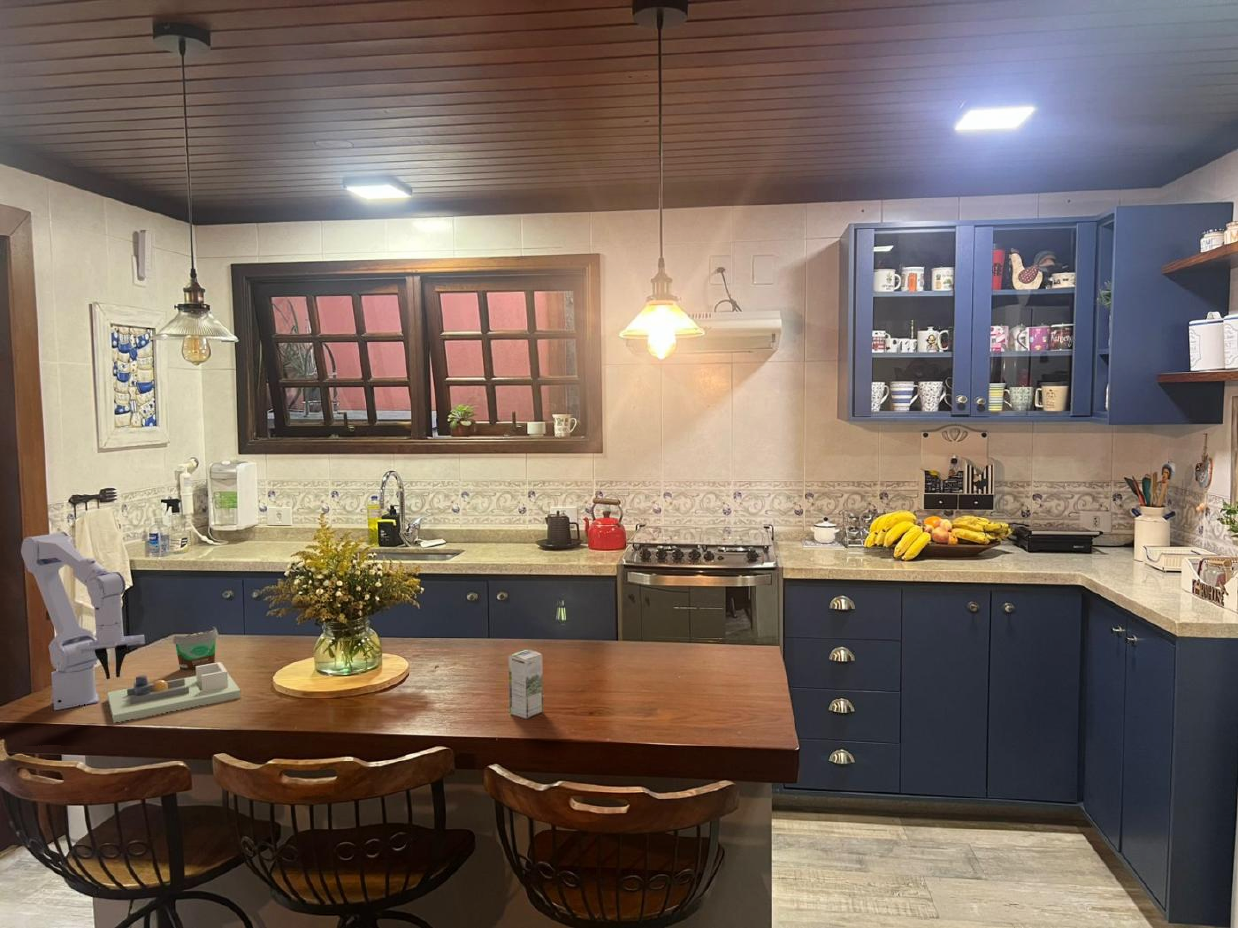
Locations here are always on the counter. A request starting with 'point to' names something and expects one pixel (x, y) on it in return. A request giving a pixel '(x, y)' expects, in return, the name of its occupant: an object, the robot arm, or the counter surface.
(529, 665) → the syrup box
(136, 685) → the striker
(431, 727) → the counter surface
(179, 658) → the food container
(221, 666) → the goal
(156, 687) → the ball
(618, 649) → the counter surface
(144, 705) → the board
